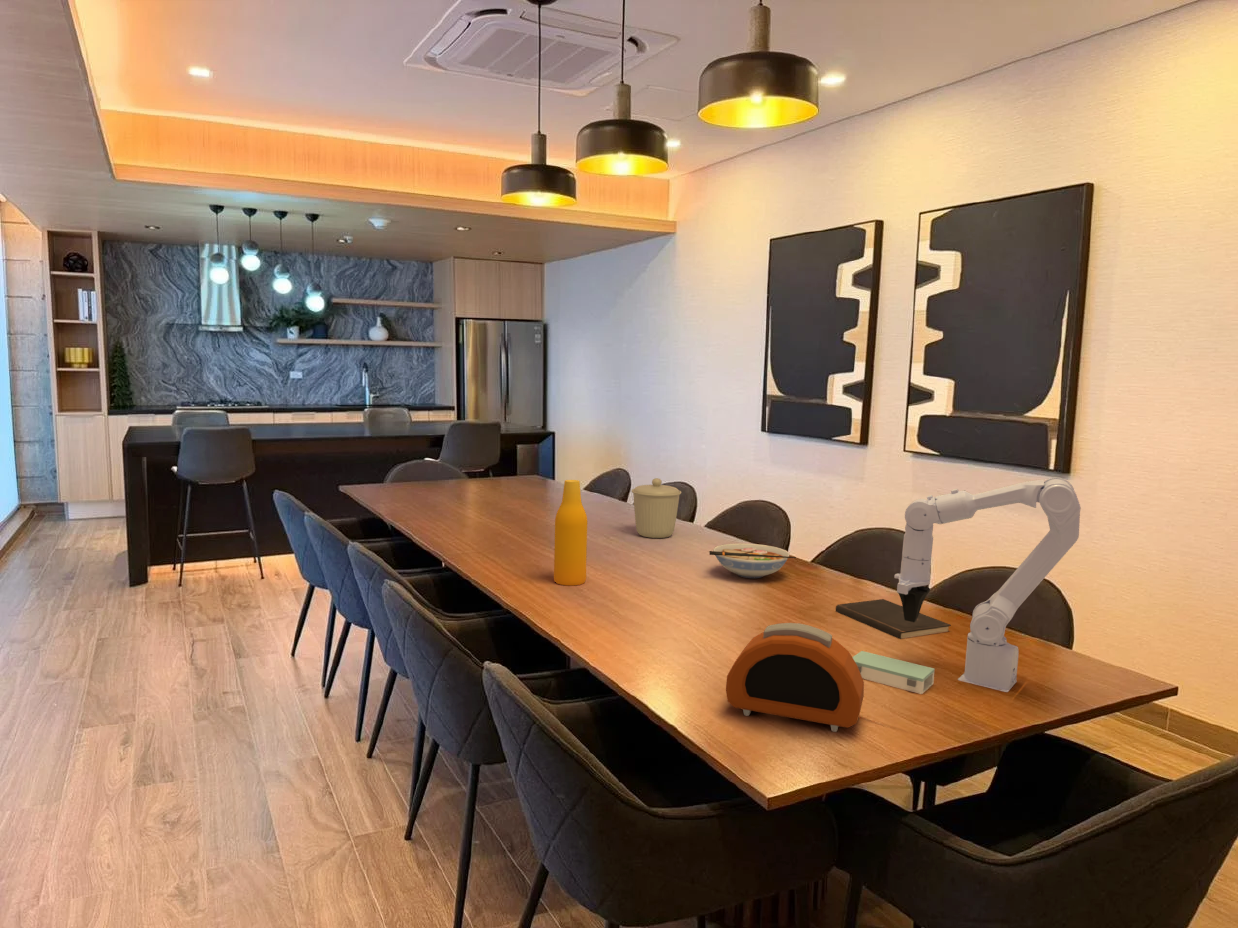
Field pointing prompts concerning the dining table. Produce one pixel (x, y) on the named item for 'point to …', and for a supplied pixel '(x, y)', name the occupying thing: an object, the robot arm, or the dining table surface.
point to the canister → (655, 509)
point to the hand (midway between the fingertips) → (910, 620)
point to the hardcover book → (891, 618)
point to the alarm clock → (797, 677)
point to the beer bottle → (570, 537)
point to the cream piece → (896, 680)
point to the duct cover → (893, 666)
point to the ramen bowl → (750, 559)
